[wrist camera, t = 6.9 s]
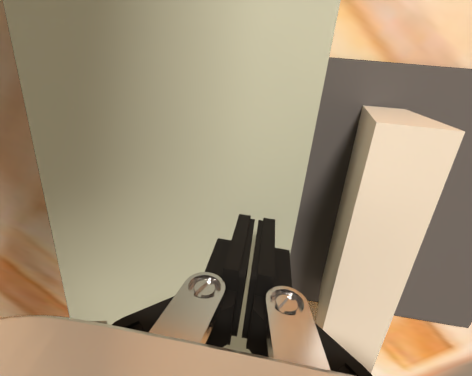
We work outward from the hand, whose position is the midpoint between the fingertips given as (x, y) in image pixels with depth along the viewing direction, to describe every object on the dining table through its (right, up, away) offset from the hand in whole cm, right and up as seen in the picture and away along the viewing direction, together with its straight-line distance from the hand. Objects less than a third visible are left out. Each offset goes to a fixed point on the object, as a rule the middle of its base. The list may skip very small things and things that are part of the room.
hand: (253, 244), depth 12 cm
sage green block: (-4, +3, +6) cm, 8 cm away
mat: (+10, +1, +4) cm, 11 cm away
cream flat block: (+4, 0, +1) cm, 4 cm away
